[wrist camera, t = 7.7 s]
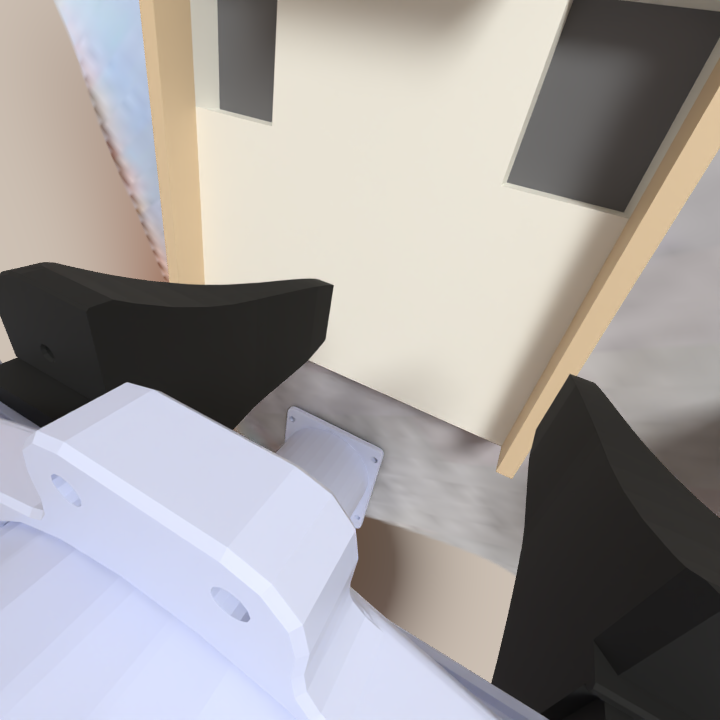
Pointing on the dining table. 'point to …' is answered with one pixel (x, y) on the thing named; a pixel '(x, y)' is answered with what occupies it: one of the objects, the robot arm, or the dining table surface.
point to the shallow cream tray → (435, 176)
